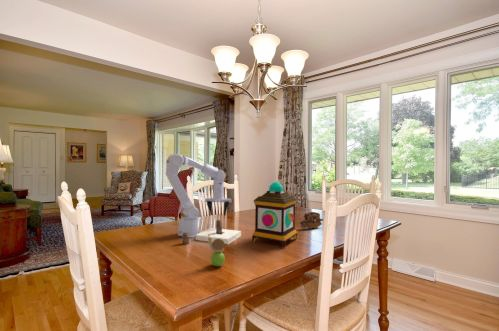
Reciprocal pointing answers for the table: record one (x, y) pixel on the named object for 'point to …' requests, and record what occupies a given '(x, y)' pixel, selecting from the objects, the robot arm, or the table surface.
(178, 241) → the table surface
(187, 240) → the short dowel
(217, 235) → the hole board
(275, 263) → the table surface
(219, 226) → the tall dowel
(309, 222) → the wooden carving
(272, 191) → the decorative lantern
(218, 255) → the snail figurine
